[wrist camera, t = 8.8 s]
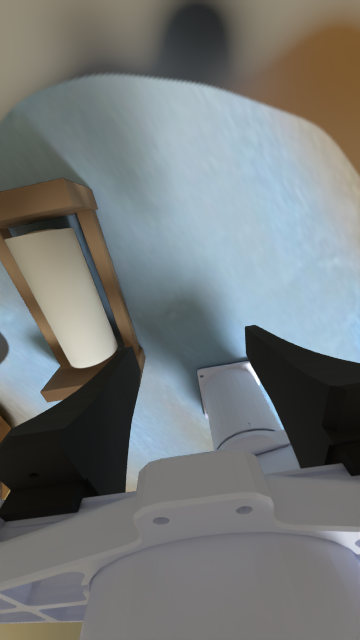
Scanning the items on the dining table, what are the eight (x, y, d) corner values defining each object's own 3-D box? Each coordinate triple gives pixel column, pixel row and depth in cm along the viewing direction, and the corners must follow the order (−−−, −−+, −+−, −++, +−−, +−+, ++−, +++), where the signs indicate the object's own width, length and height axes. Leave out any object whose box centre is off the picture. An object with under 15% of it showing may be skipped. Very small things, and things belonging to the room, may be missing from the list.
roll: (108, 336, 25) (125, 351, 21) (66, 356, 22) (77, 377, 19) (66, 228, 19) (78, 223, 16) (4, 239, 17) (1, 235, 13)
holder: (145, 357, 25) (139, 387, 20) (69, 370, 25) (47, 402, 21) (91, 189, 17) (62, 178, 13) (-18, 213, 17) (-84, 210, 13)
